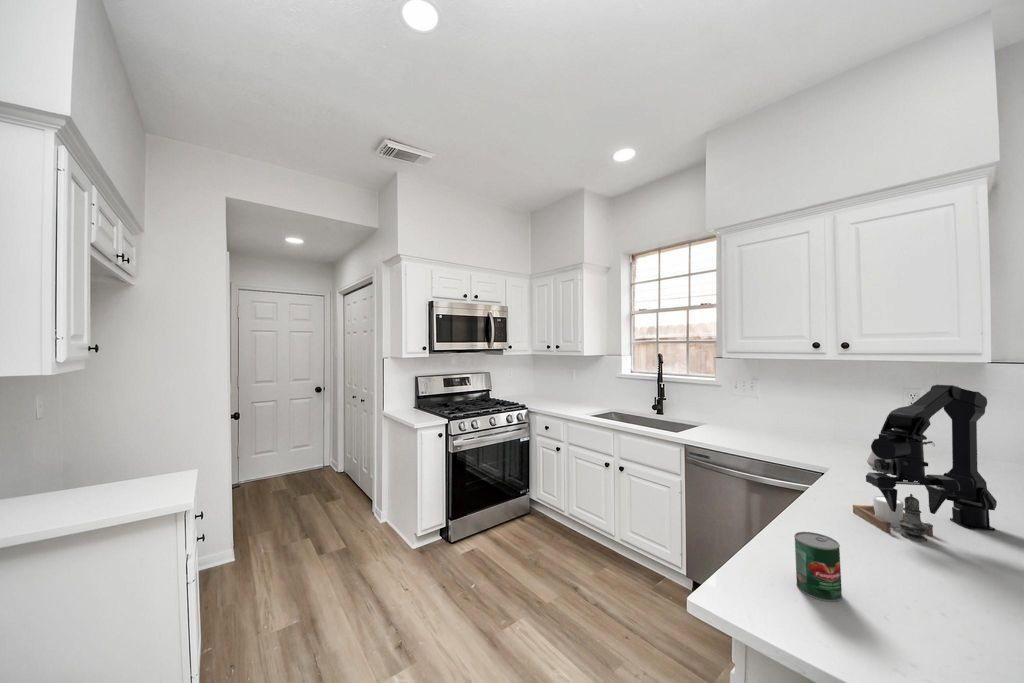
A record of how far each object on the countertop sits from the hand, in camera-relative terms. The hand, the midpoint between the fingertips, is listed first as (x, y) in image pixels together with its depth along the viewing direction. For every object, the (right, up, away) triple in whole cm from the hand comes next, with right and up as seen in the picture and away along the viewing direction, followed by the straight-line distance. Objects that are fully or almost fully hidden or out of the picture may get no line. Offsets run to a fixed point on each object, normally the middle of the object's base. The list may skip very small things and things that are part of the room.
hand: (912, 512), depth 109 cm
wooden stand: (+2, -7, +8) cm, 11 cm away
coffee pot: (+54, -8, +57) cm, 79 cm away
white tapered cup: (+2, -7, +9) cm, 12 cm away
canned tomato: (-45, -7, -24) cm, 51 cm away
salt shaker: (0, -7, 0) cm, 7 cm away
